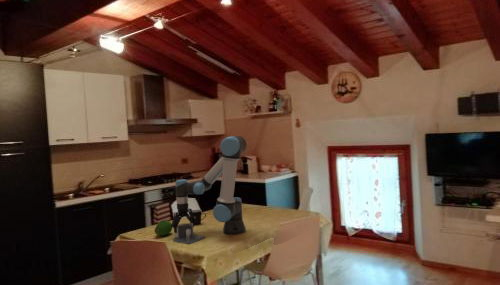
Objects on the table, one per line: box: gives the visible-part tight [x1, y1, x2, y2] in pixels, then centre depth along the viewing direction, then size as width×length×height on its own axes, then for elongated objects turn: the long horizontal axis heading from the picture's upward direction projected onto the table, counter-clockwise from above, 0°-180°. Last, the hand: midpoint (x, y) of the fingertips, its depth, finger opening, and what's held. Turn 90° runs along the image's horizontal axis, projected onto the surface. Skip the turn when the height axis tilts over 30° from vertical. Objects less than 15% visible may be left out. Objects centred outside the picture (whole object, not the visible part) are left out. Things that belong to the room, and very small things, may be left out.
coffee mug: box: [192, 209, 207, 226], centre depth 280 cm, size 12×9×10 cm
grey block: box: [177, 223, 194, 237], centre depth 252 cm, size 8×8×7 cm
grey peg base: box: [172, 229, 206, 245], centre depth 241 cm, size 14×14×6 cm
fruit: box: [154, 219, 173, 236], centre depth 254 cm, size 15×10×10 cm, turn 157°
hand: (184, 235), depth 252 cm, fingers open, 12 cm apart
